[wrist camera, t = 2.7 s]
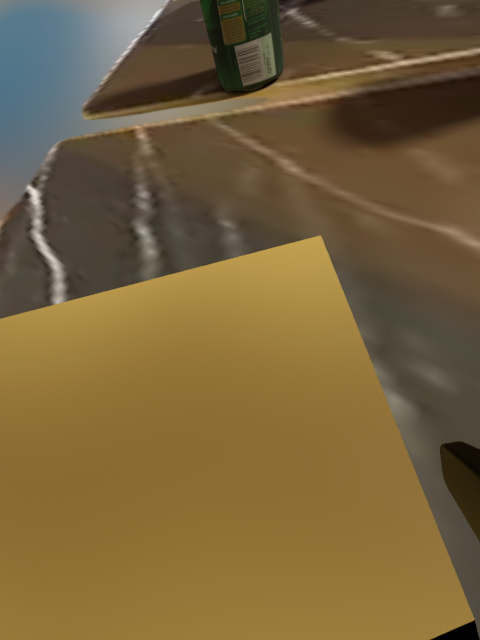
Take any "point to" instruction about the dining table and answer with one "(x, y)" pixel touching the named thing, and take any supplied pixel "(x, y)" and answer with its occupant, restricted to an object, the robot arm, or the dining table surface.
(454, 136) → the dining table surface
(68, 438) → the pillar block
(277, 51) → the coffee jar
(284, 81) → the dining table surface
